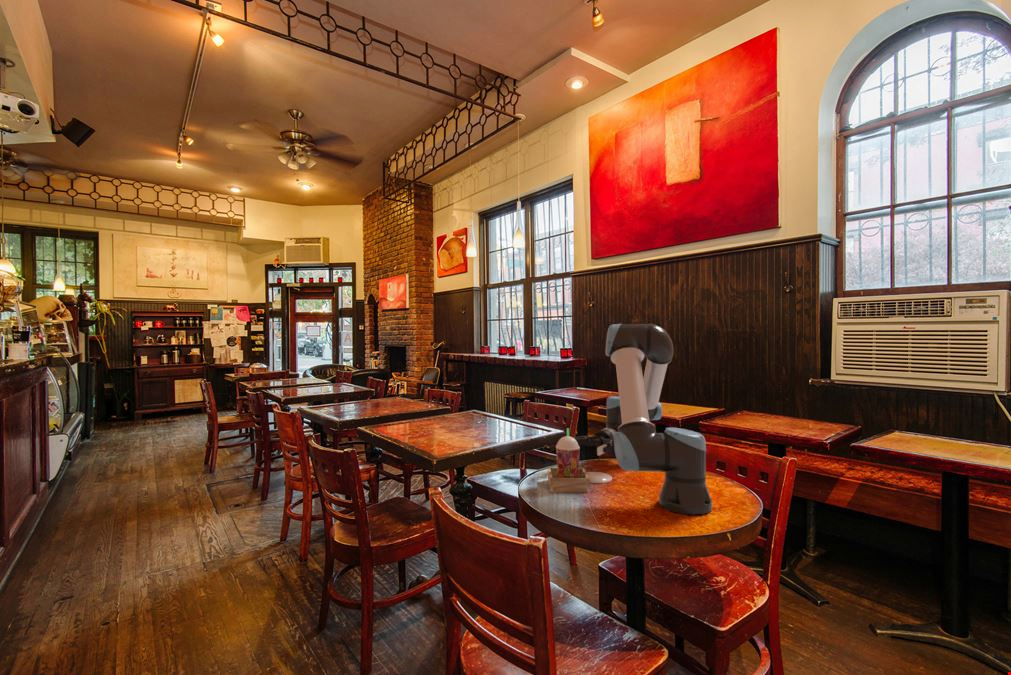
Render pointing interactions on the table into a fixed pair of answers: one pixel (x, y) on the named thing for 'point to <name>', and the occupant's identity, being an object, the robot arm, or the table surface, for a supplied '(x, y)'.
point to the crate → (568, 482)
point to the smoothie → (567, 457)
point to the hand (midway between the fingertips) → (580, 448)
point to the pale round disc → (599, 477)
